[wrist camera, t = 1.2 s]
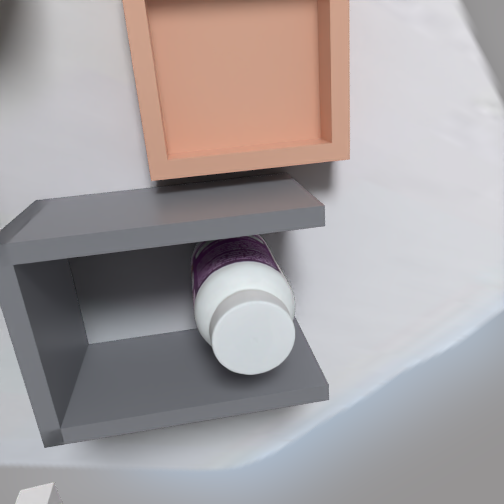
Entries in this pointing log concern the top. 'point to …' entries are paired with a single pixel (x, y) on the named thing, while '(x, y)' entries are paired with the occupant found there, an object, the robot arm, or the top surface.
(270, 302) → the pill bottle
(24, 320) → the bay
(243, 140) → the dish
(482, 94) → the top surface
